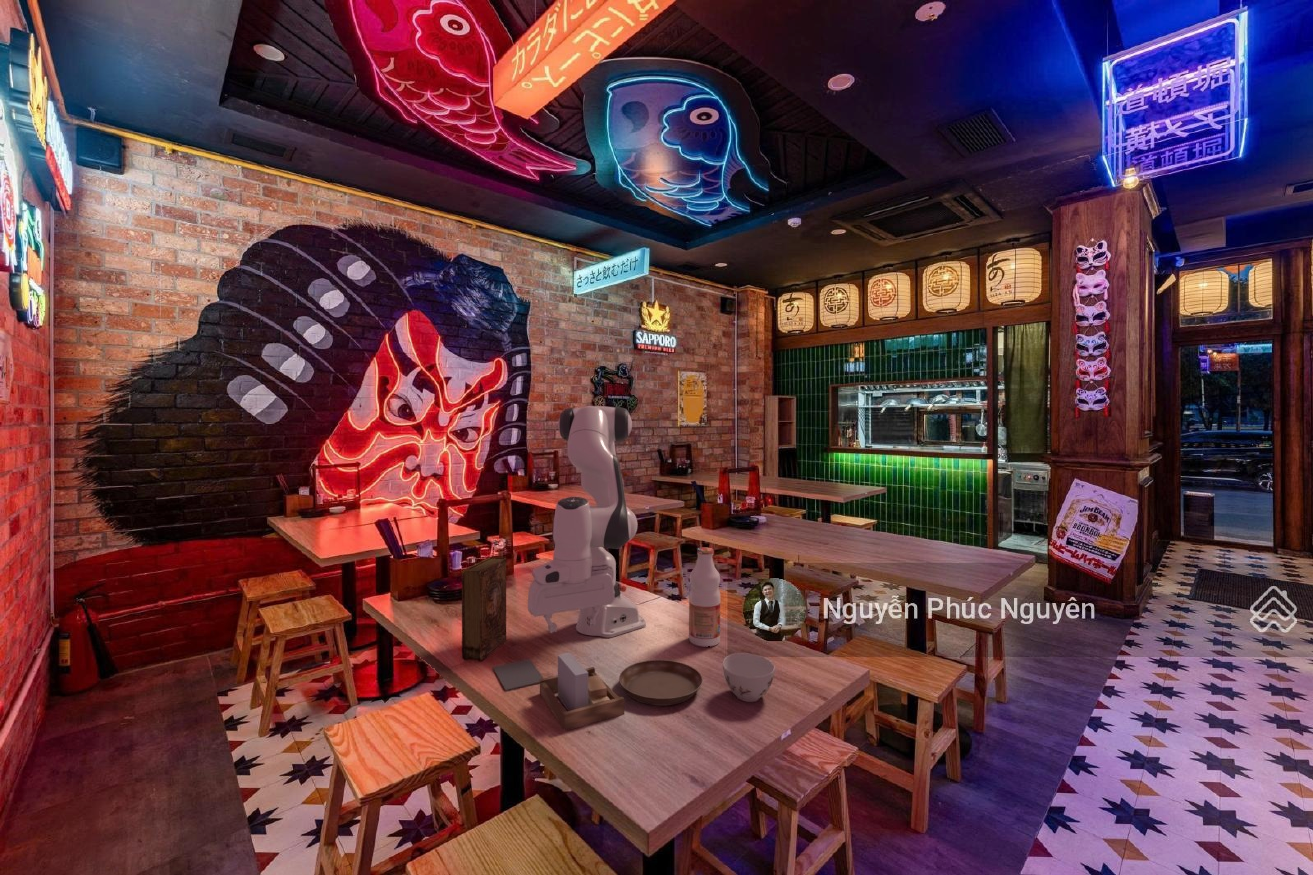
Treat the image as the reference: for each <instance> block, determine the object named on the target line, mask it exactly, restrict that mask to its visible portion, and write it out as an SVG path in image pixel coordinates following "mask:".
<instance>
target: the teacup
mask: <svg viewBox="0 0 1313 875" xmlns="http://www.w3.org/2000/svg"><path fill="white" fill-rule="evenodd" d="M722 670H723V676H724V679H725V682H726V683H727V686H728V688H729V690H730V691H731V692H732V693H733V694H734V695H735V696H736V697H737V699H738V700H741V701H743V702H747V703H753V702H757V701H759V699H760V698H761V697H763V696H764V695H766V693H767V692H768V691H769V689H770V688H771V686H772V684H773V681H774V677H775V671H776V666H775V664H774V663H773V660H772V659H769V658H767V657H765V656H761V655H758V654H754V653H749V652H737V653H731V654H729V655H727V656H725V658H723V661H722Z"/></svg>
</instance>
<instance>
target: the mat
mask: <svg viewBox="0 0 1313 875" xmlns="http://www.w3.org/2000/svg"><path fill="white" fill-rule="evenodd" d="M492 669H493V671H494V674H495V675H496V677H497V678H498V680H499V682H500V684H501V685H502V687H503V689H504V691H505V692H508V691H509V692H510V691H514V690H518V689H522V688H526V687H530V686H535V685H540V679H544V678H545V677H543V675H542V674H541V672H540V671H539V669H538V668H537V667H536V665H535V664H534V663H533V661H532V660H531V659H530V658H528V659H524V660H520V661H513V662H510V663H506V664H500V665H496V666H492Z"/></svg>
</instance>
